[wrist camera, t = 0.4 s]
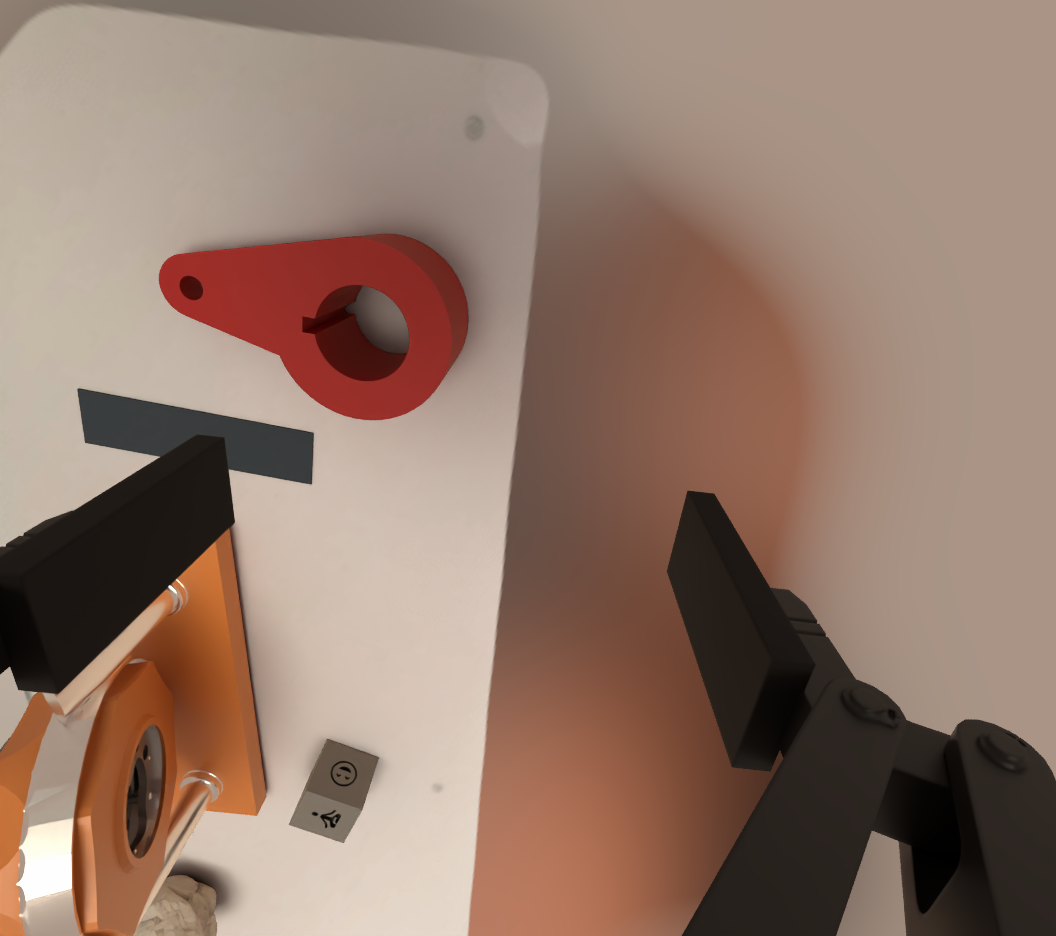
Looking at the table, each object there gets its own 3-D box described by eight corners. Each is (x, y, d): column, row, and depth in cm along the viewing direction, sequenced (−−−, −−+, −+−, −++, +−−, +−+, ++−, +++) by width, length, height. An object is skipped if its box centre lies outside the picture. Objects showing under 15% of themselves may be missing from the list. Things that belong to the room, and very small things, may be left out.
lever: (477, 249, 34) (461, 256, 27) (459, 398, 37) (442, 432, 31) (174, 194, 33) (89, 189, 27) (187, 351, 37) (116, 378, 31)
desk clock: (239, 524, 42) (-2, 762, 24) (274, 792, 54) (132, 1086, 36) (76, 507, 42) (-294, 732, 24) (147, 779, 54) (-59, 1067, 36)
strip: (78, 388, 38) (77, 389, 38) (313, 433, 39) (312, 433, 39) (86, 442, 40) (85, 442, 40) (311, 483, 40) (311, 484, 40)
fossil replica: (134, 904, 63) (226, 917, 65) (85, 1002, 56) (190, 1013, 58) (138, 851, 58) (239, 867, 60) (84, 953, 50) (200, 967, 52)
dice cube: (361, 789, 54) (343, 842, 49) (311, 772, 53) (288, 824, 48) (378, 757, 52) (362, 809, 47) (327, 739, 51) (305, 790, 46)
